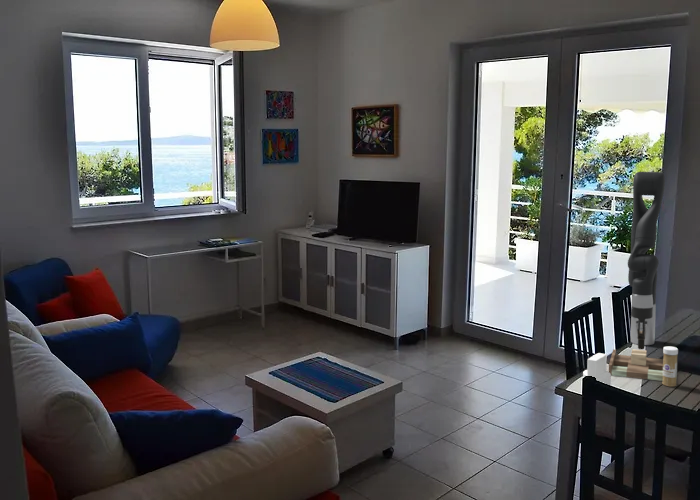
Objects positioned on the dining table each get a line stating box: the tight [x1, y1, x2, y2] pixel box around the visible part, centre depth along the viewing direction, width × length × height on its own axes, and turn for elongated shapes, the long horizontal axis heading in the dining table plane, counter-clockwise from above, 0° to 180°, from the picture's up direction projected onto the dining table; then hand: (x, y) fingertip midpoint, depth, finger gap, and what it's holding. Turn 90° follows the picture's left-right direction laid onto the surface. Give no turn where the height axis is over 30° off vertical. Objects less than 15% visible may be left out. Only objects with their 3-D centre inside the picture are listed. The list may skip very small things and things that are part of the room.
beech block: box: [630, 348, 648, 366], centre depth 235 cm, size 6×5×4 cm
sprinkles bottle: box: [661, 345, 679, 387], centre depth 217 cm, size 5×5×14 cm
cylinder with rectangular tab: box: [582, 352, 612, 385], centre depth 215 cm, size 9×9×12 cm
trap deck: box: [608, 349, 664, 382], centre depth 233 cm, size 19×19×4 cm
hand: (641, 348), depth 243 cm, fingers closed
